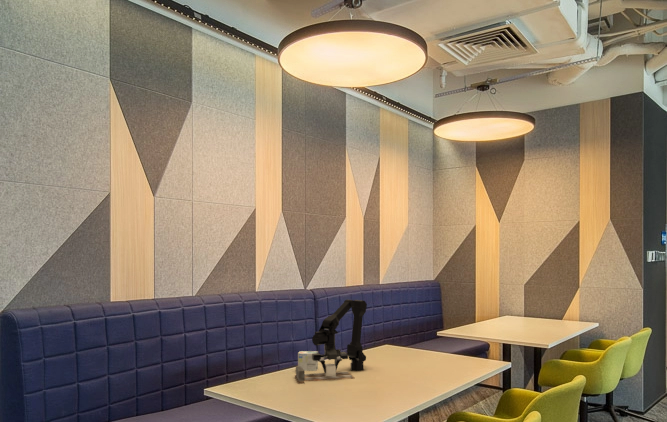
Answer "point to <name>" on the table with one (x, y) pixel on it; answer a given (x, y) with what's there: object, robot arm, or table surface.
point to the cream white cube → (330, 370)
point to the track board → (319, 376)
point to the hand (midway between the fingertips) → (330, 372)
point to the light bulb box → (307, 360)
